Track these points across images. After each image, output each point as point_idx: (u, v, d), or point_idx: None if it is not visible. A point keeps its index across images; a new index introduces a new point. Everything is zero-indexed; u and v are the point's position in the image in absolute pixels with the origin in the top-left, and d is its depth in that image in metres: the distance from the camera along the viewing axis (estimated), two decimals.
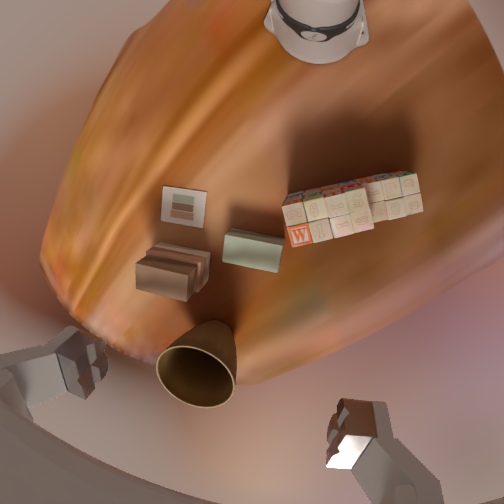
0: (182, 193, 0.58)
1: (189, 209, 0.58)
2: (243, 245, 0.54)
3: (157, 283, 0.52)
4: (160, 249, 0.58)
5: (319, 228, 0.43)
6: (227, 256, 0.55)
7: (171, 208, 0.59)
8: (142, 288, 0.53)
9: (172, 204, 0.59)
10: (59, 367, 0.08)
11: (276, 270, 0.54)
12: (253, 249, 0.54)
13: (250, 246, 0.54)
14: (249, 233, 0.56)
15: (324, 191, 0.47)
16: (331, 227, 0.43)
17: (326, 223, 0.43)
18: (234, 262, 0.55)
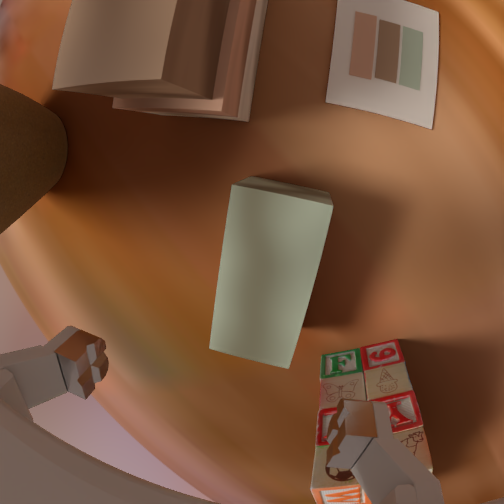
0: (426, 58, 0.14)
1: (381, 67, 0.15)
2: (292, 266, 0.16)
3: None
4: None
5: None
6: (251, 207, 0.15)
7: (379, 17, 0.14)
8: None
9: (393, 23, 0.14)
10: (59, 367, 0.08)
11: (215, 347, 0.18)
12: (279, 295, 0.16)
13: (289, 287, 0.16)
14: None
15: None
16: None
17: None
18: (231, 229, 0.16)
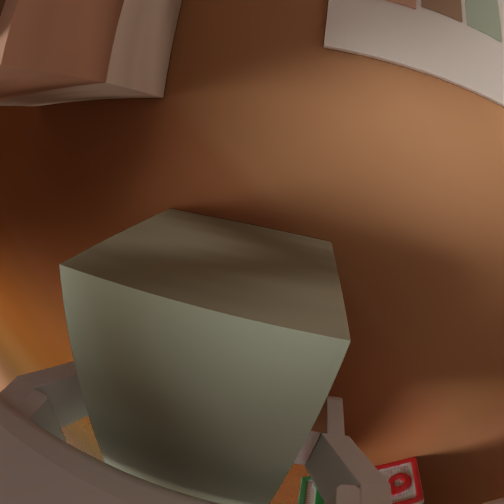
0: None
1: None
2: (232, 452, 0.06)
3: None
4: None
5: None
6: (110, 327, 0.05)
7: None
8: None
9: None
10: None
11: None
12: (212, 481, 0.06)
13: (230, 476, 0.06)
14: None
15: None
16: None
17: None
18: (84, 365, 0.06)
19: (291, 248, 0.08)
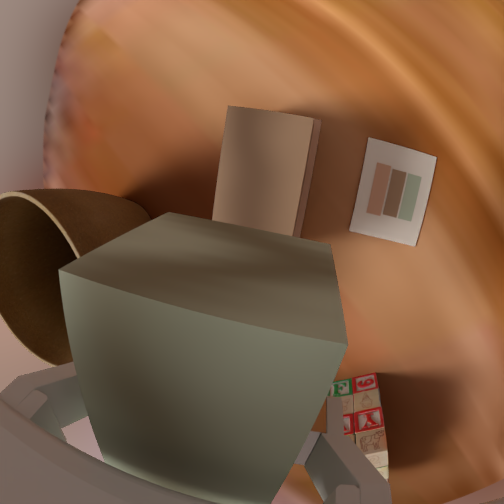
0: (420, 197, 0.26)
1: (388, 207, 0.27)
2: (232, 454, 0.06)
3: (251, 181, 0.18)
4: None
5: None
6: (109, 331, 0.05)
7: (392, 166, 0.26)
8: (231, 128, 0.17)
9: (402, 171, 0.26)
10: None
11: None
12: (212, 483, 0.06)
13: (230, 478, 0.06)
14: None
15: None
16: None
17: None
18: (84, 369, 0.06)
19: (289, 251, 0.08)
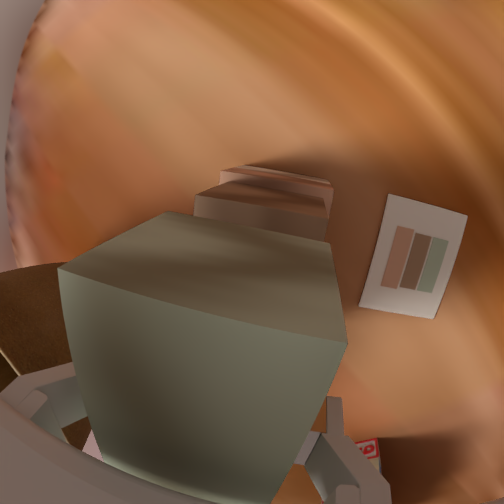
0: (444, 264, 0.21)
1: (406, 278, 0.22)
2: (231, 454, 0.06)
3: None
4: None
5: None
6: (108, 329, 0.05)
7: (415, 230, 0.21)
8: None
9: (426, 235, 0.21)
10: None
11: None
12: (211, 483, 0.06)
13: (229, 478, 0.06)
14: None
15: None
16: None
17: None
18: (83, 368, 0.06)
19: (289, 250, 0.08)
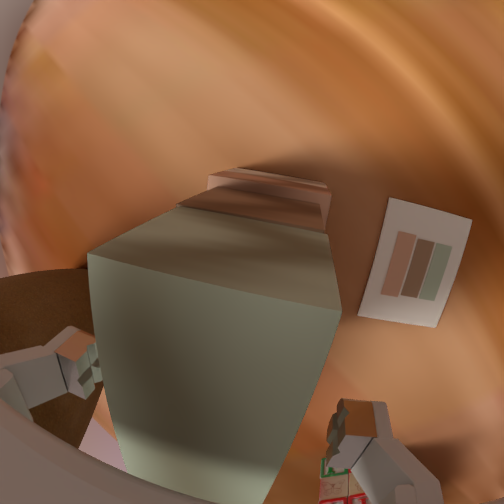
0: (448, 271, 0.20)
1: (408, 285, 0.21)
2: (241, 423, 0.06)
3: None
4: None
5: None
6: (132, 307, 0.06)
7: (418, 236, 0.19)
8: None
9: (429, 241, 0.19)
10: (59, 367, 0.08)
11: None
12: (221, 456, 0.07)
13: (238, 449, 0.07)
14: None
15: None
16: None
17: None
18: (106, 346, 0.06)
19: (291, 239, 0.09)
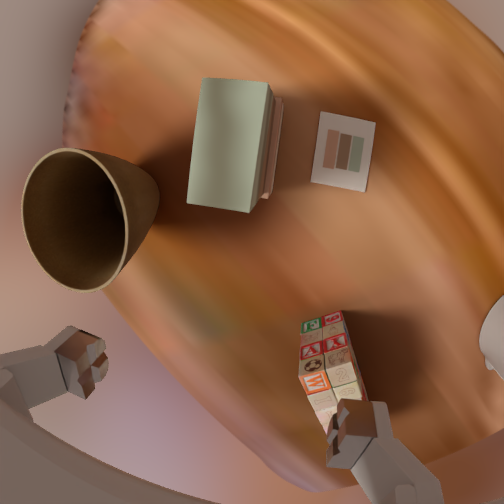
0: (364, 153, 0.35)
1: (339, 162, 0.36)
2: (244, 124, 0.21)
3: None
4: (280, 117, 0.32)
5: (325, 399, 0.33)
6: (214, 89, 0.21)
7: (340, 131, 0.35)
8: None
9: (348, 134, 0.35)
10: (59, 367, 0.08)
11: (191, 200, 0.24)
12: (236, 147, 0.22)
13: (242, 140, 0.22)
14: (265, 131, 0.24)
15: None
16: (327, 408, 0.34)
17: (331, 404, 0.33)
18: (202, 105, 0.21)
19: None
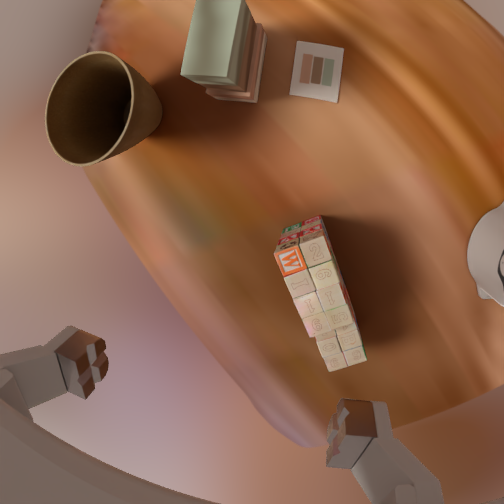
0: (335, 71, 0.38)
1: (313, 78, 0.39)
2: (224, 20, 0.25)
3: None
4: (261, 40, 0.35)
5: (302, 282, 0.37)
6: (205, 2, 0.24)
7: (314, 55, 0.38)
8: None
9: (320, 57, 0.38)
10: (59, 367, 0.08)
11: (184, 72, 0.28)
12: (218, 34, 0.26)
13: (223, 30, 0.25)
14: (243, 32, 0.28)
15: (337, 268, 0.41)
16: (305, 295, 0.37)
17: (309, 289, 0.37)
18: (196, 11, 0.25)
19: None
